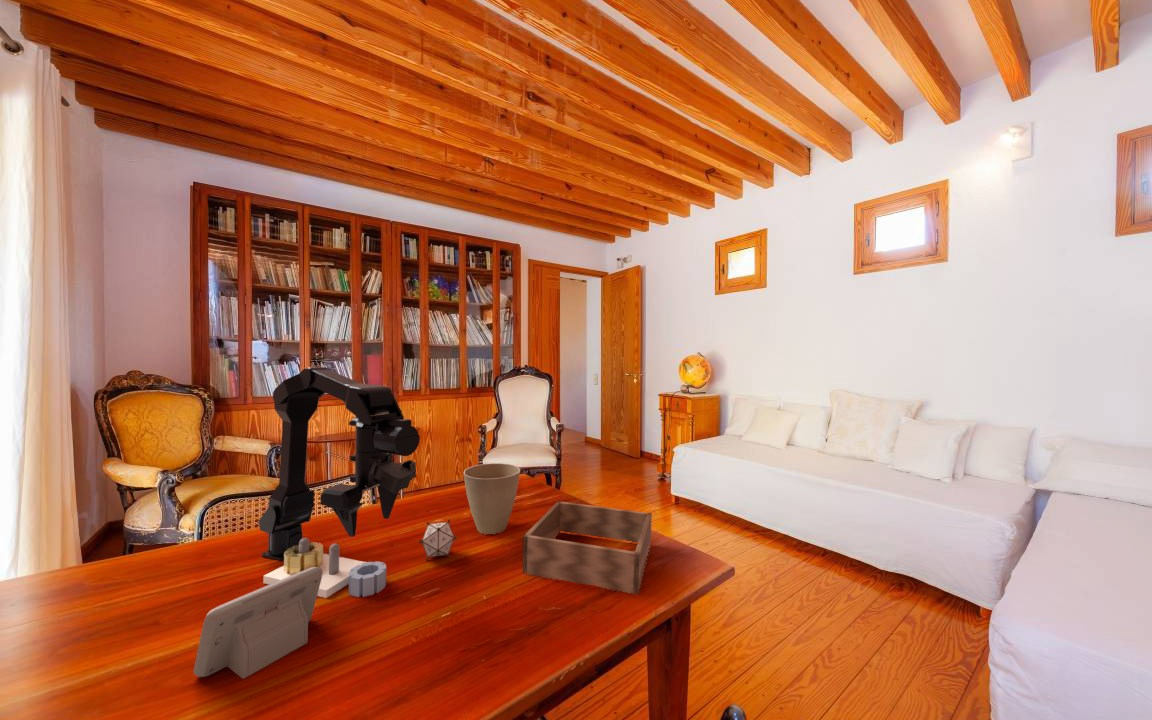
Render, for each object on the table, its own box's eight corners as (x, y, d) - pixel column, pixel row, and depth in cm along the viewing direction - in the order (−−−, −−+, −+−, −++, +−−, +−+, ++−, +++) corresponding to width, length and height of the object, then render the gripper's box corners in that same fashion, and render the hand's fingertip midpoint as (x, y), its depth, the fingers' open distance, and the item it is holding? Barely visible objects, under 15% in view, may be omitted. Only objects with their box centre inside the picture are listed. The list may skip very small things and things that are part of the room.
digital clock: (312, 616, 74) (313, 556, 74) (331, 639, 68) (333, 575, 68) (189, 666, 62) (189, 595, 62) (200, 700, 56) (201, 621, 56)
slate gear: (340, 593, 81) (341, 575, 81) (366, 576, 88) (366, 559, 88) (368, 599, 79) (368, 581, 79) (392, 581, 86) (393, 564, 86)
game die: (441, 575, 95) (442, 553, 90) (410, 558, 97) (409, 535, 91) (463, 542, 102) (466, 520, 97) (434, 527, 104) (435, 503, 98)
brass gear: (277, 574, 85) (277, 557, 84) (295, 558, 91) (296, 542, 91) (312, 573, 85) (312, 556, 85) (327, 557, 92) (328, 541, 92)
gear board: (263, 583, 84) (263, 546, 84) (312, 558, 95) (312, 525, 94) (326, 598, 80) (326, 559, 79) (369, 569, 90) (370, 535, 90)
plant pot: (492, 514, 123) (493, 460, 123) (530, 527, 114) (531, 469, 114) (450, 530, 111) (451, 471, 110) (489, 547, 102) (490, 482, 102)
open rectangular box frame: (522, 583, 90) (523, 536, 90) (556, 538, 112) (557, 501, 112) (637, 605, 83) (639, 554, 83) (650, 553, 105) (651, 513, 105)
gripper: (369, 464, 72) (368, 554, 73) (434, 443, 90) (432, 515, 90) (318, 458, 75) (317, 544, 76) (391, 439, 93) (389, 508, 94)
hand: (370, 527), depth 84 cm, fingers open, 9 cm apart
